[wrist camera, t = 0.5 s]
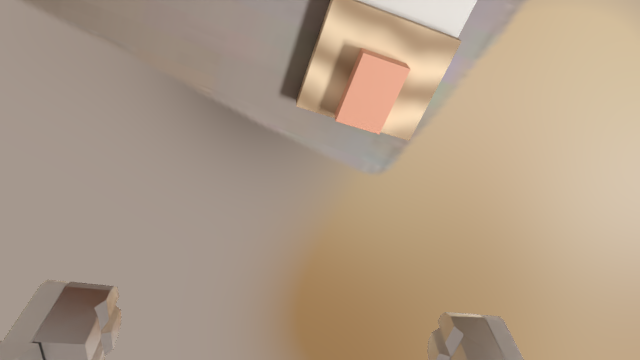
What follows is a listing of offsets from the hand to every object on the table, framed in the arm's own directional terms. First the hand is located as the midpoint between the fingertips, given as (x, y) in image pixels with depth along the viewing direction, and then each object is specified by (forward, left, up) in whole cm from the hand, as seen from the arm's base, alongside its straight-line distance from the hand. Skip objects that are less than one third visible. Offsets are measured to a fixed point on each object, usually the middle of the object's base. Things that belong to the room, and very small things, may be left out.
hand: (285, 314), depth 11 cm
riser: (+6, +12, -44) cm, 46 cm away
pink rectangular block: (+7, +12, -42) cm, 45 cm away
